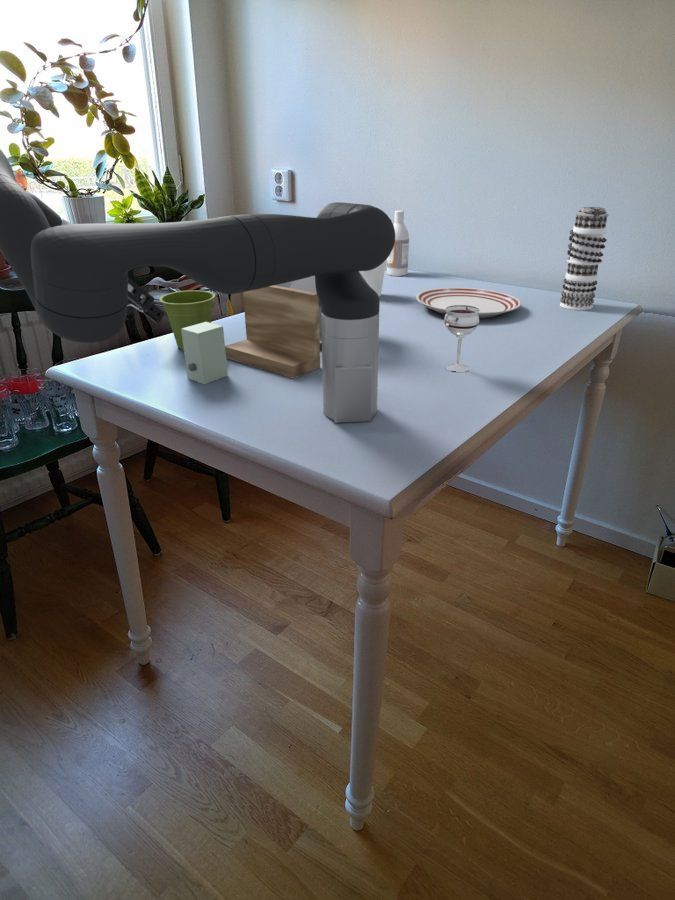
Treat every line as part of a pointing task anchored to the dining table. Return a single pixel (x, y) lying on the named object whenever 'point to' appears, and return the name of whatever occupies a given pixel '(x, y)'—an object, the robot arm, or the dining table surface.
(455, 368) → the wineglass
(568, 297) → the grey white tall cylinder
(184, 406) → the dining table surface
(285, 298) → the wooden stand
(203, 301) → the plant pot
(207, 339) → the cabinet
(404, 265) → the bath foam
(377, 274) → the cup
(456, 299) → the dinner plate
